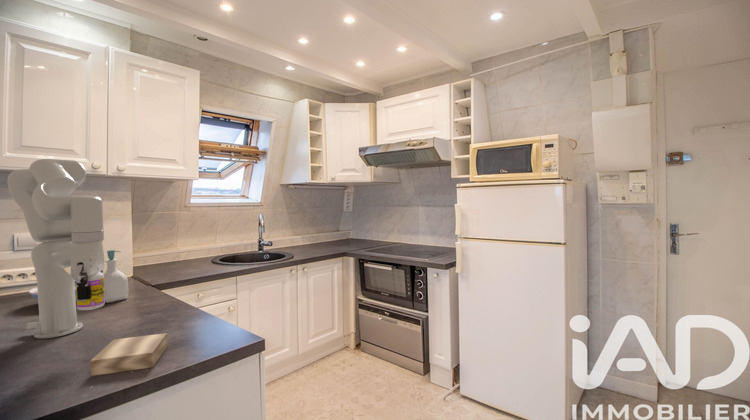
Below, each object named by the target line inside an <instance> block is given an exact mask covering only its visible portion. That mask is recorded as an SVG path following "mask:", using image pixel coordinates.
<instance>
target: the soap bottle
mask: <svg viewBox="0 0 750 420" xmlns="http://www.w3.org/2000/svg"><path fill="white" fill-rule="evenodd" d="M106 253H107V257H108V259H104V263H106V271H105V272H103V273H102V274H103V275H104V295H105V303H106V304H107V303H114V302H117V301H121V300H122V301H123V300H125V299H127V298H128V297H129V283H128V281H129V280H128V277H127V276H126V274H124V272H122V271H120V270H119V269H118V268H117V262H118V260H119V259H118V258H115V255H116V253H120V251H118V250H115V249H109V250H106Z"/></svg>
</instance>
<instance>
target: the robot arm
mask: <svg viewBox="0 0 750 420" xmlns="http://www.w3.org/2000/svg"><path fill="white" fill-rule="evenodd" d="M86 178H87V171H86V168H85V166H84V164H82V162H80V161H78V160H77V161H76V160H74V159H73V160H71V159H70V160H69V159H58V158H57V159H56V158H55V159H53V158H42V159H38V160H37V159H36V160H35V161H33V162H32V163H30V165H29V168H25V169H24V168H23V169H22V168H21V169H16V170H14V171H12V172H10V173H9V174H8V177H7V188H8V190H9V191H8V192H9V193H10V194H9V195H11V198H12V199H13V201H14V202H15V203H16V204H17V206H18V207H19V209H20V210H21V211H22V213H23V216H24V219H25V222H26V226H27V229H28V231H29V234H30V236H31V238H32V240H34V241H35V242H36V243H37V242H38V243H39V244H37V245H35V246H33V248H32V249H31V251H30V253H31V254H30V257H31V261H32V265H33V269H34V272H35V277H36V288H37V290H38V300H37V301H38V302H37V305H38V316H39V317H38V318H39V321H36V322H35V321H34V322H33V321H32V322H28V323H26V330H27V331H31V330H35V332H34V333H33V336H34V338H36V339H53V338H58V337H62V336H65V335H70V334H73V333H75V332H77V331H79V330H81V329H83V328H84V324H83V322H81V321H78V316H77V315H78V314H77V300H76V297H75V283H76V287H77V299H78V300H87V299H91V285H90V286H89V282H90V276H92V275H94V274H96V273H97V266H98V265H99V267H100V269H99V272H101V273H102V274H104V269H105V254H104V246H103V242H105V234H104V214H103V213H104V210H103V209H104V208H103V207H104V206H103V200H102V199H101V198H100V197H99V196H96V195H95V196H93V195H87V194H84V195H83V194H80V195H78V194H77V195H75V194H73V192H74V191H75V190H76V189H77V188H78V187H80V186H81V185H82V184H83V183H84V182H85V180H86ZM65 268H70V273H69V272H67V271H66V270H65ZM81 274H87V275H82V276H81ZM82 278H86V281H85V280H84V279H82ZM74 281H75V282H74Z"/></svg>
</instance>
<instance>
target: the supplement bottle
mask: <svg viewBox="0 0 750 420" xmlns="http://www.w3.org/2000/svg"><path fill="white" fill-rule="evenodd" d="M99 269H100V267H99V265H98V266H97V273H96V274H94V275H92V276H90V282H89V286H90V285H91V299H87V300H78V299H77V287H76V310H79V311H92V310H96V309H100V308H101V307H104V305H105V303H106V302H105V295H104V275H103V274H104V273H101V272H99ZM82 275H87V274H81V276H82ZM82 279H84V280H85V281H86V278H82Z"/></svg>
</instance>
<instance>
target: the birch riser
mask: <svg viewBox="0 0 750 420" xmlns="http://www.w3.org/2000/svg"><path fill="white" fill-rule="evenodd" d="M168 342H169V341H168V333H167V332H165V333H157V334H149V335H139V336H132V337H125V338H117V339H116V338H115V339H113V340H111V342H109V344H107V345H106V346H105V347H103V349H102V350H101V351H99V352H98V353H97V354H96V355H95V356H94V357H92V358H91V360H90V374H91V375H90V376H91V377H94V376H100V375H106V374H107V375H108V374H113V373H114V374H115V373H121V372H122V373H123V372H128V371H135V370H136V371H137V370H142V369H143V370H144V369H151V368H154V366H155V365H156V363H157V362H158V361H159V360H160V358H161V356H162V355H163V353H164V352H165V351H166V349H167V348H168V347H169V345H168Z"/></svg>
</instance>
